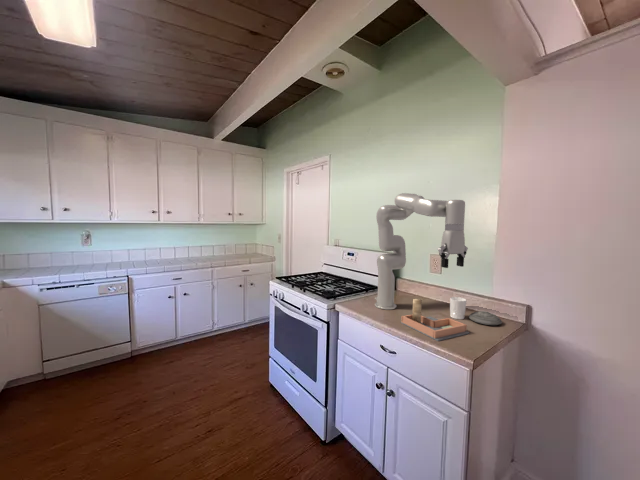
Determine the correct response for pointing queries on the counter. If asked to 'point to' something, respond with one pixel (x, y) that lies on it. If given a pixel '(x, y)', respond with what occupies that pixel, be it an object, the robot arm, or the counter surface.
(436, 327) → the track
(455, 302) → the white cup
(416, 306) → the peg
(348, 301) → the counter surface
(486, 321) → the flying saucer
